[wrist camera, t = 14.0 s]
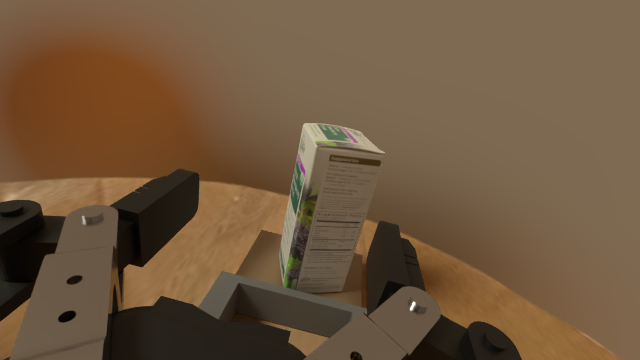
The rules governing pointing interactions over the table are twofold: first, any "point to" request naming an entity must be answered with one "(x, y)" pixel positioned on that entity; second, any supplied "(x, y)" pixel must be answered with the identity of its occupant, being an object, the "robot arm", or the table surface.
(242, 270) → the walnut pad
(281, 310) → the gray open storage bin
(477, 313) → the table surface
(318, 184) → the syrup box
